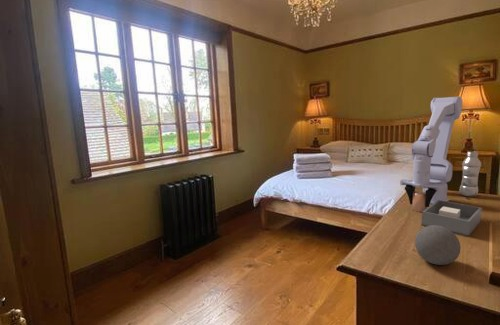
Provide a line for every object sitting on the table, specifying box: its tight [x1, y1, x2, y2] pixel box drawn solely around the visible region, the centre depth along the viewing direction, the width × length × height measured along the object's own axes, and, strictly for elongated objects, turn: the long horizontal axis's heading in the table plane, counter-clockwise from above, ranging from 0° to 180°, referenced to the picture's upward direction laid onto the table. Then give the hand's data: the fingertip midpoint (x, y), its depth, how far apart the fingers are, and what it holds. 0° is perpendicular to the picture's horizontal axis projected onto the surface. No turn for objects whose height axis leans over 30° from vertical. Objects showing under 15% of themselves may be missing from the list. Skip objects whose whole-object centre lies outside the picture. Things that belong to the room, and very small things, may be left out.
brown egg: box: [411, 190, 428, 213], centre depth 113 cm, size 5×5×7 cm
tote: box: [420, 200, 483, 238], centre depth 99 cm, size 17×13×5 cm
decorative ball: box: [414, 225, 461, 266], centre depth 75 cm, size 10×10×10 cm
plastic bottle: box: [459, 150, 482, 197], centre depth 126 cm, size 6×7×20 cm
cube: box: [439, 206, 460, 219], centre depth 97 cm, size 5×5×5 cm
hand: (419, 205), depth 113 cm, fingers closed on brown egg, 5 cm apart
